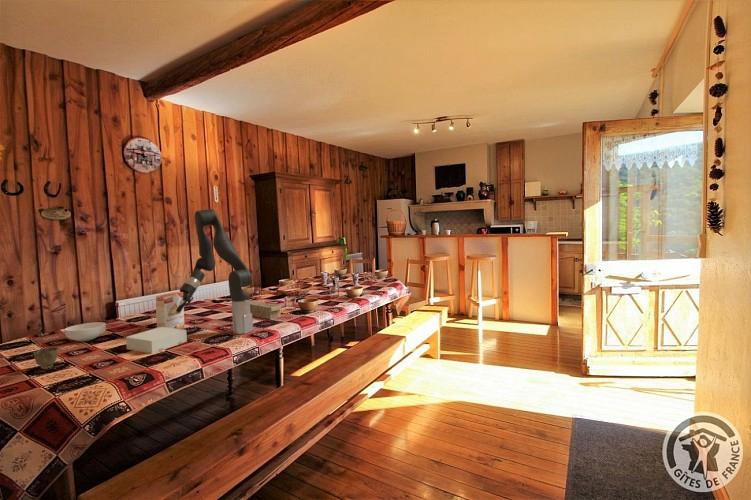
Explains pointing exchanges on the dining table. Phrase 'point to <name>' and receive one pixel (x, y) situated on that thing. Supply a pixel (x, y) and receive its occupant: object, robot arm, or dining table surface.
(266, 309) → the block tower
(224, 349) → the dining table surface
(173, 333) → the pale square block
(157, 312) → the cracker box
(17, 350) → the dining table surface
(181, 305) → the robot arm
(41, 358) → the cup
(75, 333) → the cereal bowl
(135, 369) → the dining table surface
